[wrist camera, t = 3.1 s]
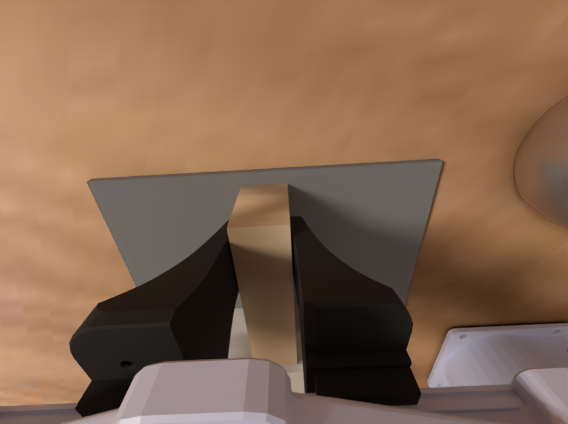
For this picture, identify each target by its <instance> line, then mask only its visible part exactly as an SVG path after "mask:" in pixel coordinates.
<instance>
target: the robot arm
mask: <svg viewBox="0 0 568 424" xmlns="http://www.w3.org/2000/svg"><path fill="white" fill-rule="evenodd" d="M228 223H229V220H228V221H227V222H226V223H225V224H224V225H223V226H222V227H221V228H220V229H219V230H218V231H217V232H216V233H215V234H214V235H213V236H212V237H211V238H209V239H208V240H207V241H206V242H205V243H204V244H203V245H202V246H200V247H199V248H198V249H197V250H196V251H195V252H193V253H192V254H191V255H190V256H188V257H187V258H186V259H184V260H183V261H181V262H180V263H178V264H177V265H175V266H174V267H172V268H171V269H169V270H167V271H166V272H164V273H162V274H161V275H159V276H157V277H155V278H154V279H152V280H150V281H148V282H146V283H144V284H142V285H140V286H138V287H136V288H134V289H132V290H129V291H127V292H125V293H122V294H120V295H118V296H115V297H113V298H110V299H108V300H105V301H103V302H100V303H98V304H97V306H96V307H95V308H94V309H93V311H92V312H91V313H90V314H89V316H88V317H87V318H86V319H85V321H84V322H83V323H82V325H81V326H80V327H79V328H78V330H77V331H76V332H75V333H74V335H73V336H72V338H71V340H70V342H69V344H70V351H71V353H72V355H73V357H74V359H75V360H76V361H77V362H78V364H79V365H80V366H81V367H82V369H83V370H84V371H85V372H86V374H87V375H88V376H89V377H90V379H91V380H92V381H91V383H90V384H89V386H88V388H87V389H86V391H85V393H84V394H83V396H82V397H81V399H80V401H79V402H78V403H68V404H45V405H22V406H0V424H568V323H556V324H535V325H514V326H493V327H471V328H454V329H451V330H449V331H448V333H447V335H446V338H445V340H444V343H443V345H442V347H441V350H440V352H439V354H438V357H437V359H436V362H435V364H434V366H433V369H432V371H431V374H430V376H429V378H428V381H427V383H428V386H429V387H430V388H419V387H418V384H417V382H416V380H415V378H414V375H413V373H412V371H411V368H410V366H411V359H410V357H409V355H408V353H407V351H406V349H407V346H408V342H409V339H410V336H411V333H412V327H413V322H412V319H411V316H410V314H409V313H408V311H407V309H406V307H405V305H404V304H403V302H402V301H401V299H400V298H399V296H398V295H397V294H396V292H395V291H394V289H393V288H391V287H388V286H386V285H384V284H382V283H379V282H377V281H375V280H373V279H371V278H369V277H367V276H365V275H363V274H361V273H360V272H358V271H356V270H354V269H353V268H351V267H350V266H348V265H347V264H345V263H344V262H342V261H341V260H340V259H338V258H337V257H336V256H335V255H334V254H332V253H331V252H330V251H329V250H328V249H327V248H326V247H325V246H324V245H323V244H322V243H321V242H320V241H319V239H318V238H317V237H316V236H315V235H314V233H313V232H312V231H311V230H310V228H309V227H308V225H307V224H306V222H305V220H304V219H303V217H302V216H294V217H290V231H291V251H292V271H293V278H294V284H295V290H296V296H297V302H298V309H299V320H300V333H301V347H302V362H303V376H304V391H305V393H297V392H292V389H291V379H290V377H289V375H288V374H287V372H286V370H285V369H284V368H283V367H282V366H280V365H278V364H276V363H274V362H272V361H270V360H268V359H259V358H229V359H228V354H229V345H230V337H231V329H232V322H233V315H234V310H235V305H236V301H237V297H238V293H239V287H238V282H237V277H236V272H235V267H234V262H233V257H232V253H231V248H230V243H229V238H228V233H227V226H228Z"/></svg>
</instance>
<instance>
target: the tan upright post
mask: <svg viewBox="0 0 568 424" xmlns="http://www.w3.org/2000/svg"><path fill="white" fill-rule="evenodd" d="M227 233H228V238H229V243H230V248H231V253H232V257H233V262H234V267H235V272H236V277H237V282H238V287H239V292H240V297H241V302H242V307H243V308H236V309H235V310H234V315H233V322H232V329H231V337H230V345H229V354H228V359H229V358H259V359H268V360H270V361H272V362H274V363H276V364H278V365H280V366H282V367H283V368H284V369H285V370H286V372H287V373H295V372H303V362H302V347H301V333H300V320H299V309H298V305H297V306H294V290H293V271H292V251H291V231H290V215H289V199H288V184H287V183H285V184H267V185H250V186H241V188H240V191H239V194H238V197H237V199H236V202H235V205H234V208H233V211H232V214H231V217H230V220H229V223H228V226H227Z"/></svg>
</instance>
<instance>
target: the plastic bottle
mask: <svg viewBox="0 0 568 424" xmlns="http://www.w3.org/2000/svg"><path fill="white" fill-rule="evenodd" d="M514 176H515V181H516V185H517V189H518V192H519V194H520V195H521V197H522V199H523V200H524V201H525V202H527V203H528V204H529V205H530V206H532V207H533V208H534V209H535V210H537V211H538V212H539V213H540V214H542V215H543V216H544V217H545V218H547V219H548V220H549V221H551V222H553V223H555V224H558V225H560V226H563V227H565V228H568V97H566V98H564V99H563V100H561V101H560V102H558V103H557V104H556V105H554V106H553V107H552V108H550V109H549V110H548V111H547V112H546V113H545V114H544V115H543V116H542V117H541V118H540V119H539V120H538V121H537V122H536V123H535V124H534V126H533V127H532V128H531V129H530V130H529V132H528V133H527V135H526V136H525V138H524V140H523V141H522V143H521V145H520V147H519V150H518V152H517V154H516V158H515V162H514Z"/></svg>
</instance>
